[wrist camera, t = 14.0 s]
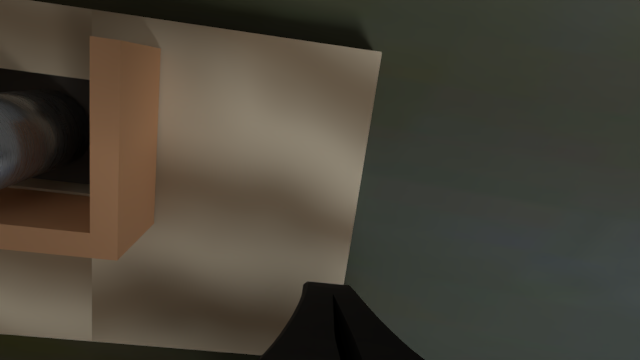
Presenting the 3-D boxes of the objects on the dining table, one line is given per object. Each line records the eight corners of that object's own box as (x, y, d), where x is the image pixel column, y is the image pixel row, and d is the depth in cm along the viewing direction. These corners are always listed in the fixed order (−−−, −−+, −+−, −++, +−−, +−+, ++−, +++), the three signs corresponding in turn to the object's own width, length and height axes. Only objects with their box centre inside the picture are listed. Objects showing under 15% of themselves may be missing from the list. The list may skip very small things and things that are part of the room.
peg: (89, 171, 20) (-5, 212, 14) (14, 157, 20) (-113, 193, 14) (93, 97, 19) (-6, 109, 13) (14, 82, 19) (-122, 87, 13)
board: (328, 342, 23) (330, 361, 22) (-81, 306, 21) (-111, 324, 20) (375, 53, 19) (381, 52, 18) (-118, -19, 18) (-159, -28, 16)
